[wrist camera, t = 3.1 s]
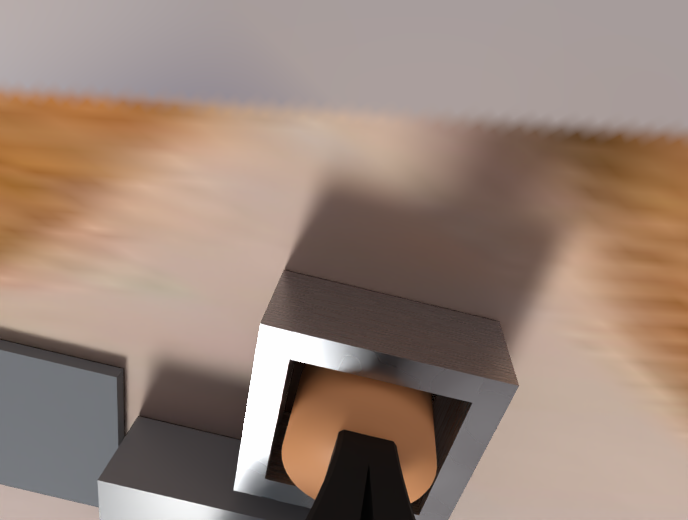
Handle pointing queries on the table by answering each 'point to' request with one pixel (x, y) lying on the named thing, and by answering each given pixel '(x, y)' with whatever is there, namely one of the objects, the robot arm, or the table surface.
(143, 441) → the socket block
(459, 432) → the button housing
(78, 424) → the slate mat
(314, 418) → the release button
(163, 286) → the table surface
